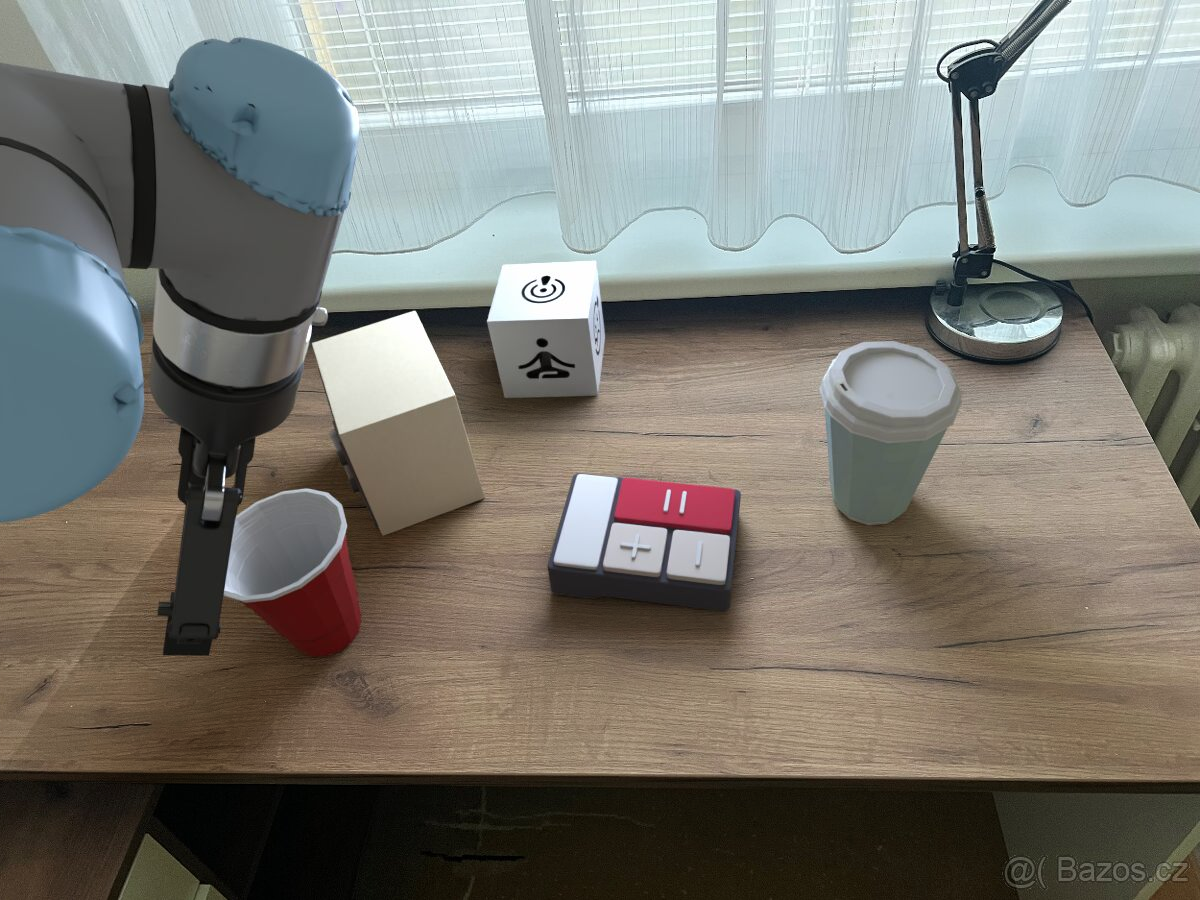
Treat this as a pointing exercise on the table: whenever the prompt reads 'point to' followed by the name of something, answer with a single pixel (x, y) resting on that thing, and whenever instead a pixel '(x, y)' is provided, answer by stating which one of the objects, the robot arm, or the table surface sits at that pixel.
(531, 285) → the icon cube
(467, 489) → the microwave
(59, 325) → the robot arm
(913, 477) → the disposable coffee cup
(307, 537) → the plastic cup
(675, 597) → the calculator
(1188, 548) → the table surface
